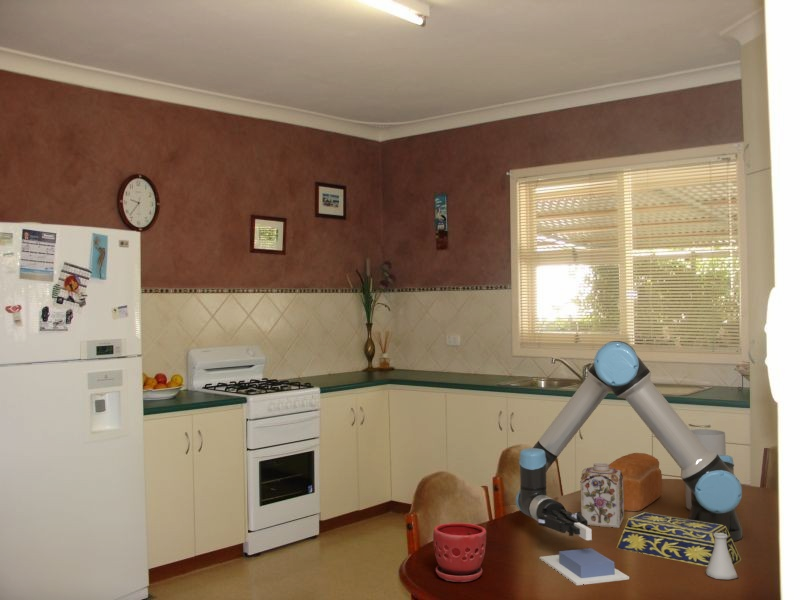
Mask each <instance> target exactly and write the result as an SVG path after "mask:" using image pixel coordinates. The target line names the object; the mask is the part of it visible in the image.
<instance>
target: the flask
mask: <svg viewBox="0 0 800 600" xmlns="http://www.w3.org/2000/svg"><path fill="white" fill-rule="evenodd" d="M713 535H714V537H715V543H714V549H713V552H712V555H711V558H710V561H709V564H708V566H707V567H706V569H705V573H706V575H707V576H708V577H711V578H712V579H716V580H728V581H729V580H733V579H737V578H739V577H738V574H737V572H736V569H735V565H734V566H733V564H732V561H731V558H730V556H729V553H728V549H727V543H726V538H727V537H728V536H727V534H724V533H714V534H713Z"/></svg>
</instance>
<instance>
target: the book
mask: <svg viewBox="0 0 800 600" xmlns="http://www.w3.org/2000/svg"><path fill="white" fill-rule="evenodd" d="M558 555H559V563H560V564H561V565H563V566H564V567H566V568H567V569H569V570H570V571H571V572H573V573H574V574H576V575H577V576H579V577H580V578H588V577H596V576H605V575H614V574H615V569H616V568H615V567H616V566H615V561H613V560H611V559H610V558H608V557H607V556H605V555H603V554H601V553H600V552H599V551H597V550H595V549H593V548H591V547H590V548H589V547H588V548H579V549H570V550H569V549H568V550H561V551H558Z"/></svg>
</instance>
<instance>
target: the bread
mask: <svg viewBox="0 0 800 600" xmlns="http://www.w3.org/2000/svg"><path fill="white" fill-rule="evenodd" d="M608 464H609V468H613V469H617V470H620V471H621V472H622V475H623V496H624V512H628V511H629V512H639V511H642V510H643V509H644V508H646V507H648V506H650V505H651V504H652V503H654V502H655V501H657V499H659V498H660V497H661V496H662V491H663V474H662V469H661V468H660V461H659V459H658V458H656V457H655V456H653V455H652V454H648V453H645V452H644V453H643V452H632V453H628V454H626V455H622V456H620V457H619V458H616V459H615V460H614V461H611V463H608Z"/></svg>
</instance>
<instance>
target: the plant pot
mask: <svg viewBox="0 0 800 600" xmlns="http://www.w3.org/2000/svg"><path fill="white" fill-rule="evenodd" d="M432 533H433V550H434V556H435V558H436V562H437V563H438V565H437V566H436V567H435V572H436V574H437V576H438V577H439V578H441V579H443V580H445V581H446V582H456V583H467V582H472V581H475V580H477V579H478V578H480V577H481V576H482V574H483V568H482V567H481V566H482V563H483V561H484V557H485V553H486V545H487V529H486V528H484V527H483V526H480V525H477V524H473V523H468V522H467V523H465V522H464V523H463V522H450V523H449V522H447V523H442V524H437V525H436V526H435V527H434V529H433V532H432Z"/></svg>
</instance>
